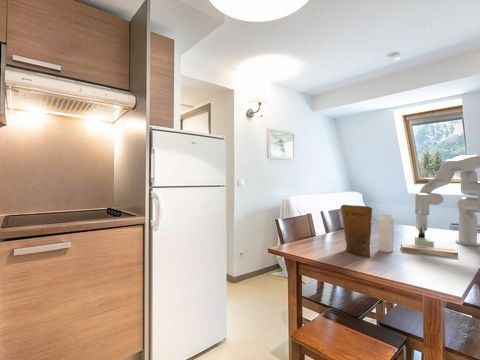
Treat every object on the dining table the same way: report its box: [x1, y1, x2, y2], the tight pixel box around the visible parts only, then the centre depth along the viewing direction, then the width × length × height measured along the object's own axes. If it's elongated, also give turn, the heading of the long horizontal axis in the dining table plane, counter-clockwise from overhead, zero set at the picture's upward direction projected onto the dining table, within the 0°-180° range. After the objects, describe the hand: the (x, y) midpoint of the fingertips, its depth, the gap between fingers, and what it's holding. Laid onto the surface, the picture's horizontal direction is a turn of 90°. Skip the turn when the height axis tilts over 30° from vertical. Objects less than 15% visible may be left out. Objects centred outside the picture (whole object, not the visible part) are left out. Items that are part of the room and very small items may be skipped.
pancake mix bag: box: [340, 204, 373, 258], centre depth 151 cm, size 7×19×28 cm, turn 28°
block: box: [414, 236, 435, 247], centre depth 164 cm, size 10×8×6 cm
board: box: [400, 242, 459, 259], centre depth 155 cm, size 10×26×3 cm, turn 65°
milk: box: [378, 213, 395, 253], centre depth 158 cm, size 6×6×22 cm
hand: (421, 240), depth 170 cm, fingers closed
